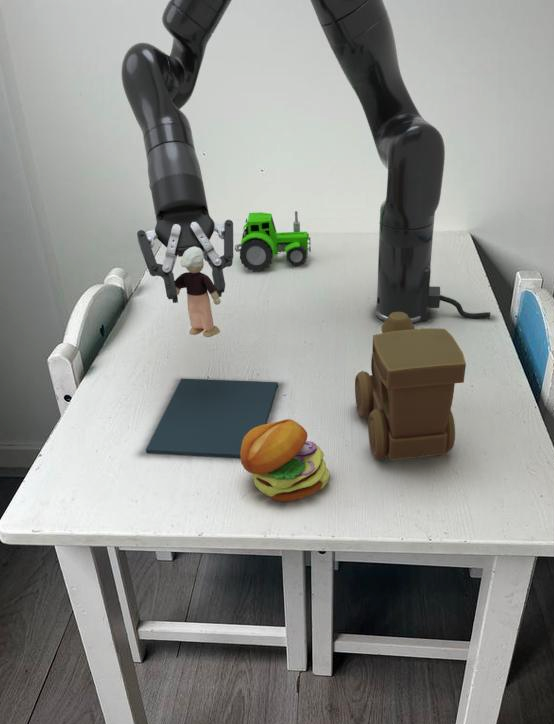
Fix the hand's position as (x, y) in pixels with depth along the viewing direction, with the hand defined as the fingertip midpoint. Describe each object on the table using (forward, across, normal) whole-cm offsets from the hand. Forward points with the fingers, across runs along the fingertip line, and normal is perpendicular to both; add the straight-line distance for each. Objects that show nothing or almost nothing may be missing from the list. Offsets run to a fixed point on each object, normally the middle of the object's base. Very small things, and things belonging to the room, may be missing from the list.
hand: (197, 297), depth 104 cm
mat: (+15, 0, +10) cm, 18 cm away
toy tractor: (-24, +22, +51) cm, 60 cm away
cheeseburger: (+29, +7, -3) cm, 30 cm away
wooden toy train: (+24, +26, +1) cm, 35 cm away
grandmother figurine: (+3, 0, +6) cm, 7 cm away
